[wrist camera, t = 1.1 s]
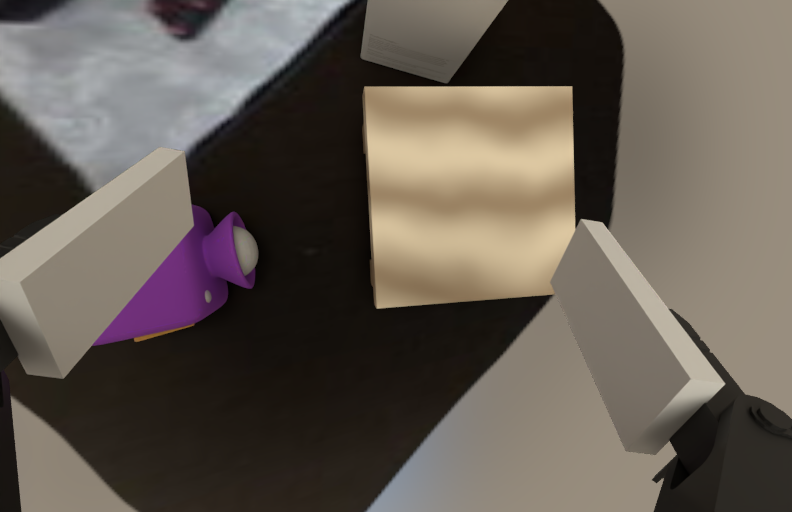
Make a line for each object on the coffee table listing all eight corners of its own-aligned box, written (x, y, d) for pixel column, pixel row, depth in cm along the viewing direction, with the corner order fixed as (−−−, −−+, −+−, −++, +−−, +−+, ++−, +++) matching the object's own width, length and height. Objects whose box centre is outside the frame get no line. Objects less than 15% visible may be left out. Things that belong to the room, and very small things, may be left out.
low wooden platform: (356, 123, 39) (364, 86, 29) (515, 120, 41) (572, 86, 32) (366, 289, 40) (376, 308, 30) (520, 278, 43) (576, 292, 33)
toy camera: (284, 283, 39) (267, 301, 29) (142, 342, 38) (73, 382, 28) (236, 176, 38) (202, 157, 28) (88, 232, 36) (-4, 233, 26)
